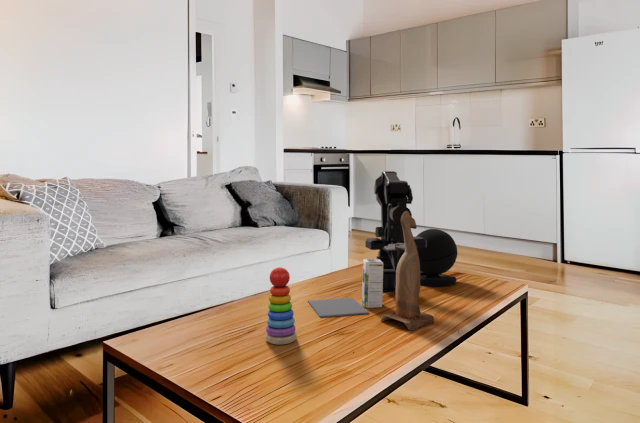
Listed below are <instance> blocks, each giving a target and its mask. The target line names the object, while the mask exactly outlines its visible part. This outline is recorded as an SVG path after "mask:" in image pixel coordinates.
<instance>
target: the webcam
mask: <svg viewBox="0 0 640 423" xmlns="http://www.w3.org/2000/svg"><path fill="white" fill-rule="evenodd" d="M418 236H419V237H422V238H425V240H426V242H427V247H426V248H417V246H416V248H417V252H418V256H419V263H420V286H422V287H423V286H424V287H432V288H433V287H434V288H443V287H444V288H445V286H446V287H452V286H455V285H457V277H456V276H451V275H448V274H444V273H447V272H448V271H450V270H451V268H453V266H454V265H455V263H456V262H457V257H458V247H457V244H456V241H455V240H454V238H453V237H452V236H451V235H450V234H449V233H447V232H446V231H444V230H441V229H438V228H429V229H425V230H423V231H421V232H419V233H418V234H417V235H416V236H415V237H418ZM454 284H455V285H454ZM451 285H452V286H451Z"/></svg>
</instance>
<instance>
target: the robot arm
mask: <svg viewBox="0 0 640 423" xmlns="http://www.w3.org/2000/svg"><path fill="white" fill-rule="evenodd" d="M380 174H381V175H380V176H378V177H377V178H376V179H375V180H374V188H373V190H374V191H373V192H374V193H373V194H374V195H375V199H376V202H377V203H378V204H379V206H380V221H381V223H380V224H381V226H376V227H375V231H374V232H375V233H374V234H375V237H371V238H370V237H369V238H366V240H365V245H364V246H365V248H366V249H369V250H371V251H378V252H377V256H376V258H375V259H380V260H381V261H382V262H383V293H384V292H396V269H397V265H398V262H399V260H400V258H401V257H402V255H403V254H404V252H405V242H404V234H403V229H402V225H401V216H402V215H403V213H404V212H405V211H408V212H409V214H410V216H411V217H412V215H413V214H412V211H411V210H410V208H408V206H407V205H412V203H413V199H414V197H413V191H412V188H411V185H410V184H409V183H408V181H406V180H400V179H399V178H400V177H398V174H397V171H387V170H385V171H382V172H381V173H380ZM412 218H413V217H412ZM413 238H414V241H415V244H416V246H417V248H426V247H427V242H426V240H425V238H422V237H419V236H418V237H416V236H413Z"/></svg>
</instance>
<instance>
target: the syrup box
mask: <svg viewBox="0 0 640 423" xmlns="http://www.w3.org/2000/svg"><path fill="white" fill-rule="evenodd" d="M361 282H362V284H361V286H362V287H361V304H362V305H363V306H362V307H363V308H365V309H366V308H367V309H368V308H369V309H370V308H372V309H375V308H383V293H384V292H383V262H382V261H381V260H380V259H376V258H363V260H362V281H361Z"/></svg>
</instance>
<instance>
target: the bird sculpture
mask: <svg viewBox="0 0 640 423" xmlns="http://www.w3.org/2000/svg"><path fill="white" fill-rule="evenodd" d="M401 225H402V229H403V234H404V242H405V252H404V254H403V255H402V257H401V258H400V260H399V262H398V265H397V269H396V291H395V311H393V312H389V313H385V314H382V315H381V316H380V322H383V321H386V320H389V319H393V320H396V321H399V322H402V323H403V324H404V325H405V326H406V328H407V330H408V332H409V331H411V330H412V331H414V329H416V330H417V329H420V328H419V327H421V328H423V326H424V327H426V326H425V325H427V326H429V325H428V324H430V325H432V323H434V324H435V317H434V316H433V315H432V314H429V313H426V312H424V311H421V308H420V303H419V297H420V292H421V285H420V263H419V256H418V252H417V248H416V244H415V241H414V238H413V237H414V234H413V232H412V229H415V230H416V229H417V223H416V220H415V218H414V217H411V216H410V214H409V212H408V211H405V212H404V213H403V215H402V216H401Z"/></svg>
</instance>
